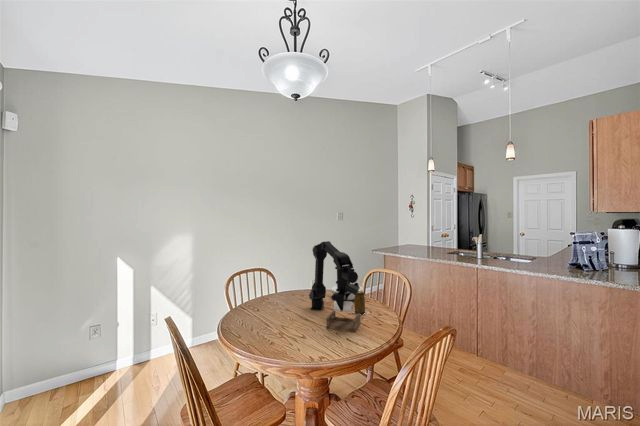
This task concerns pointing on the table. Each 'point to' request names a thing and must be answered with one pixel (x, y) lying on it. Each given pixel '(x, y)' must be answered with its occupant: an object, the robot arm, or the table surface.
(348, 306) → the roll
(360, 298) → the condiment
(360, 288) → the serving bowl
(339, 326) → the cradle
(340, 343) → the table surface
